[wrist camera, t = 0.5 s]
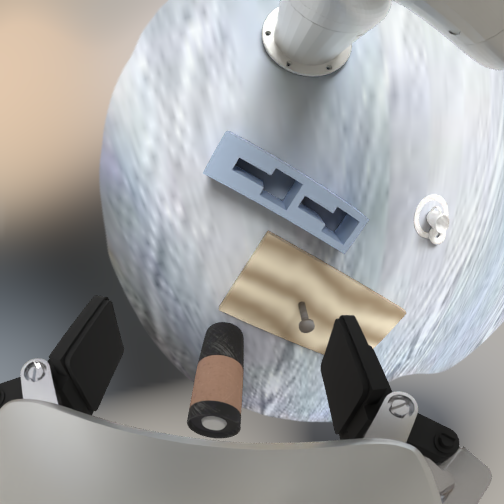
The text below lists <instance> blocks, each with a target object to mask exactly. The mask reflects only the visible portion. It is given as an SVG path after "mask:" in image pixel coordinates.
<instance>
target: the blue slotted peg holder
mask: <svg viewBox="0 0 504 504" xmlns="http://www.w3.org/2000/svg"><path fill="white" fill-rule="evenodd" d="M239 158H241V159H243V160H245V161H246V162H248V163H250V164H252V165H254V166H255V167H257V168H259V169H261V170H263V171H264V172H266V173H268V174H269V175H272V173H273V172H274V170H275V169H276V168H277V169H278V170H280V171H282V172H283V173H285V174H287V175H288V176H290V177H292V178H293V179H295V180H296V181H295V182H294V184H293V185H292V187H291V189H290V190H289V192H288V193H287V195H286V196H285V198H284V200H283V201H282V200H280V199H279V198H277V197H275V196H273V195H272V194H270V193H268V192H267V191H265V190H263V188H264V186H263V180H261V179H259V178H257V177H255V176H254V175H252V174H250V173H248V172H247V171H245V170H243V169H241V168H239V167H237V166H236V165H235V164H236V162H237V160H238V159H239ZM203 174H205V175H207V176H209V177H211V178H213V179H214V180H216V181H218V182H220V183H222V184H224V185H226V186H228V187H229V188H231V189H233V190H235V191H237V192H239V193H240V194H242V195H244V196H246V197H248V198H249V199H251V200H253V201H255V202H257V203H258V204H260V205H262V206H264V207H266V208H267V209H269V210H271V211H273V212H274V213H276V214H278V215H280V216H281V217H283V218H285V219H287V220H288V221H290V222H292V223H293V224H295V225H297V226H299V227H300V228H302V229H304V230H305V231H307V232H309V233H310V234H312V235H314V236H316V237H317V238H319V239H321V240H322V241H324V242H325V243H327V244H329V245H330V246H332V247H334V248H335V249H337V250H339V251H340V252H342V253H343V254H345V253H346V252H347V250H348V249H349V247H350V246H351V245H352V243H353V242H354V241H355V239H356V238H357V236H358V235H359V234H360V232H361V231H362V229H363V228H364V226H365V225H366V224H367V222H368V221H369V219H368V218H367V217H366V216H364V215H363V214H362V213H361V212H360V211H359V210H358V209H356V208H355V207H353V206H352V205H350V204H349V203H348V202H346V201H345V200H343V199H342V198H340V197H339V196H337V195H336V194H334V193H333V192H331V191H330V190H328V189H327V188H325V187H324V186H322V185H321V184H319V183H318V182H316V181H315V180H313V179H311V178H310V177H308V176H307V175H305V174H304V173H302V172H300V171H299V170H297V169H295V168H294V167H292V166H291V165H289V164H287V163H286V162H284V161H282V160H281V159H279V158H277V157H275V156H274V155H272V154H270V153H269V152H267V151H265V150H263V149H262V148H260V147H258V146H256V145H254V144H253V143H251V142H249V141H247V140H245V139H243V138H242V137H240V136H238V135H236V134H234V133H232V132H230V131H226V132H225V134H224V136H223V137H222V139H221V141H220V143H219V145H218V146H217V148H216V150H215V152H214V153H213V155H212V157H211V159H210V161H209V163H208V164H207V166H206V168H205V170H204V172H203ZM305 196H306V197H308V198H309V199H311V200H313V201H314V202H316V203H317V204H319V205H321V206H322V207H324V208H325V209H327V210H328V211H330V212H331V213H334V211H335V210H336V208H337V207H339V208H340V209H342V210H343V211H345V212H346V213H347V215H346V216H345V217H344V219H343V220H342V222H341V223H340V225H339V226H338V228H337V229H336V230H335V232H333V231H332V230H330V229H328V228H327V227H325V223H324V222H323V220H322V219H321V217H320V216H319V215H318V213H316V212H315V211H313V210H311V209H310V208H308V207H307V206H305V205H303V204H302V203H301V201H302V200H303V198H304V197H305Z"/></svg>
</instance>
